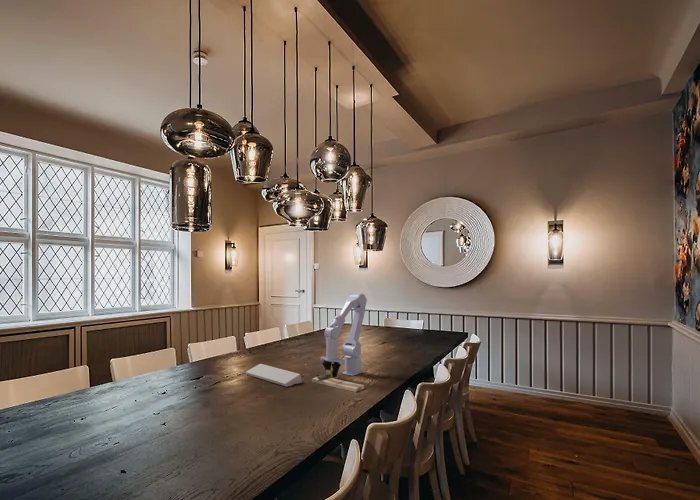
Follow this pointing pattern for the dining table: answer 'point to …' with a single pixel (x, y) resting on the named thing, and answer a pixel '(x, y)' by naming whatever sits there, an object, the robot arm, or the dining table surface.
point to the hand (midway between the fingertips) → (331, 376)
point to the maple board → (339, 384)
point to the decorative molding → (275, 375)
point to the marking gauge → (328, 374)
